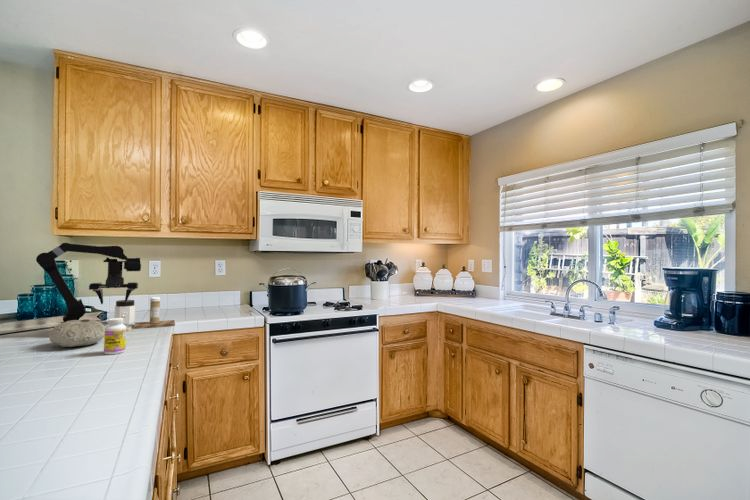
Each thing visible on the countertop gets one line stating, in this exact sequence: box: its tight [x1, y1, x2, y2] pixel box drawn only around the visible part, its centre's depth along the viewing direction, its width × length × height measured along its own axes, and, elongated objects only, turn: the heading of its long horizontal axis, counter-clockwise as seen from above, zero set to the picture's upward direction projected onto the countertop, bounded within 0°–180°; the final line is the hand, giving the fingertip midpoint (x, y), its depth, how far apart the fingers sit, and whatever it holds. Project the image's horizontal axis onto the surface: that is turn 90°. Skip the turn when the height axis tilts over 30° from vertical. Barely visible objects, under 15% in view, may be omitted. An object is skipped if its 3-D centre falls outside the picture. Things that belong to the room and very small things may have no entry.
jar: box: [114, 299, 136, 325], centre depth 190 cm, size 9×8×12 cm
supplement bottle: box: [103, 318, 127, 356], centre depth 135 cm, size 7×7×13 cm
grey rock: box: [48, 318, 106, 348], centre depth 145 cm, size 18×18×10 cm
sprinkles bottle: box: [148, 296, 161, 324], centre depth 186 cm, size 5×5×14 cm
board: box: [132, 319, 176, 330], centre depth 186 cm, size 18×11×1 cm, turn 121°
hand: (113, 303), depth 172 cm, fingers open, 9 cm apart
